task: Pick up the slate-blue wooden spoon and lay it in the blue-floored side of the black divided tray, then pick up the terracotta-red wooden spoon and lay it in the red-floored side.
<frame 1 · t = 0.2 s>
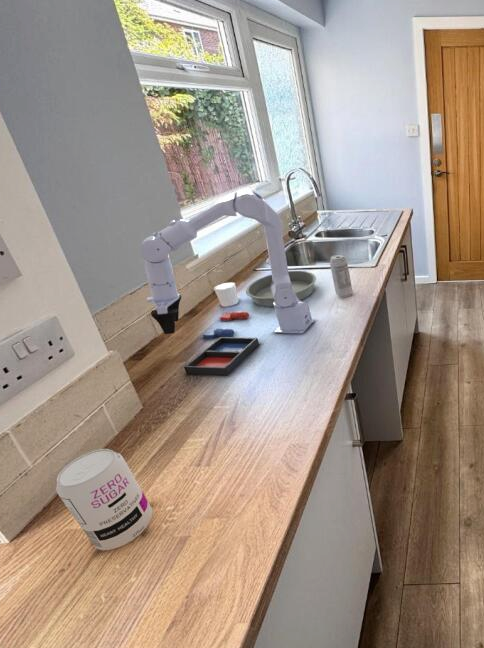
hand: (171, 327, 112), 10 cm above the table, tool pointing down, fingers open, 7 cm apart
white cup: (230, 303, 148), on the table
black divided tray: (225, 358, 115), on the table
grey cylinder: (344, 294, 150), on the table
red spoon: (236, 318, 137), on the table
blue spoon: (220, 335, 127), on the table
supplement can: (126, 529, 69), on the table
cake pan: (284, 294, 153), on the table
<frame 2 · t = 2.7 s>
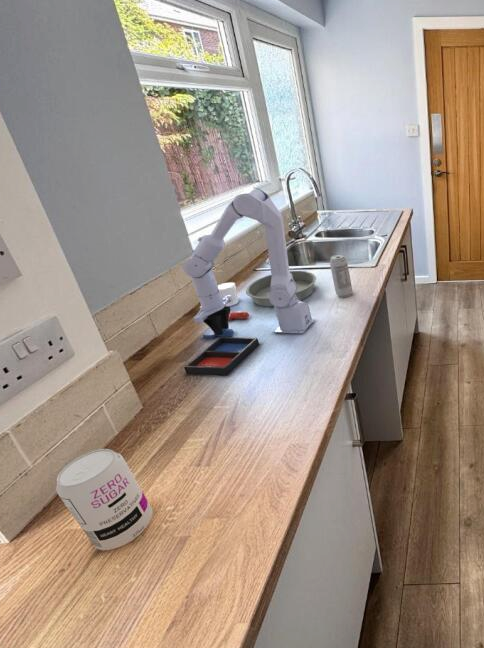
hand: (222, 331, 126), 1 cm above the table, tool pointing down, fingers closed on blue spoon, 2 cm apart
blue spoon: (220, 335, 127), on the table, touching gripper
everything else where it was.
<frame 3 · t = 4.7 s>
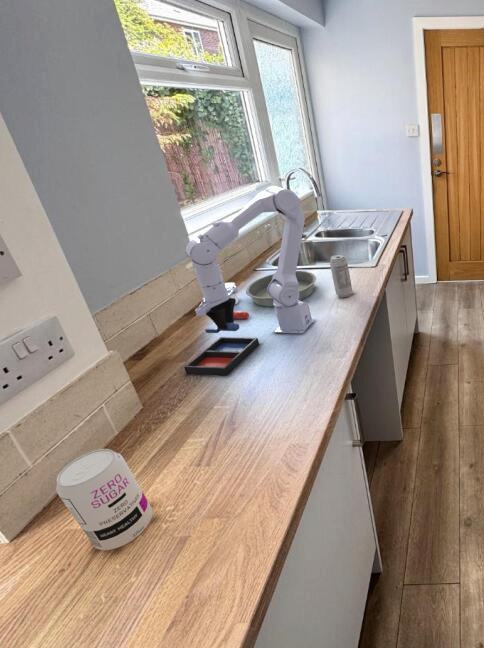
hand: (226, 326, 115), 8 cm above the table, tool pointing down, fingers closed on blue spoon, 2 cm apart
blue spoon: (224, 330, 116), point 7 cm above the table, touching gripper
everything else where it was.
when the fingers open (2 cm above the table, at t = 7.2 s): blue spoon stays where it is, resting on black divided tray.
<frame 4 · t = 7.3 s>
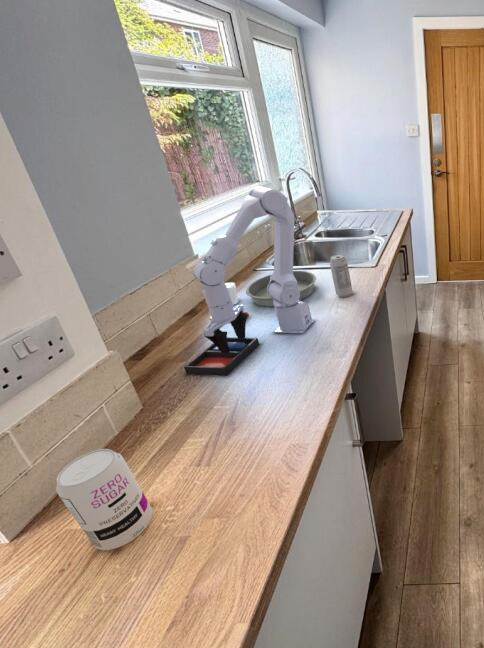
hand: (233, 344, 117), 3 cm above the table, tool pointing down, fingers open, 7 cm apart
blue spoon: (232, 349, 118), point 1 cm above the table, touching black divided tray
everything else where it was.
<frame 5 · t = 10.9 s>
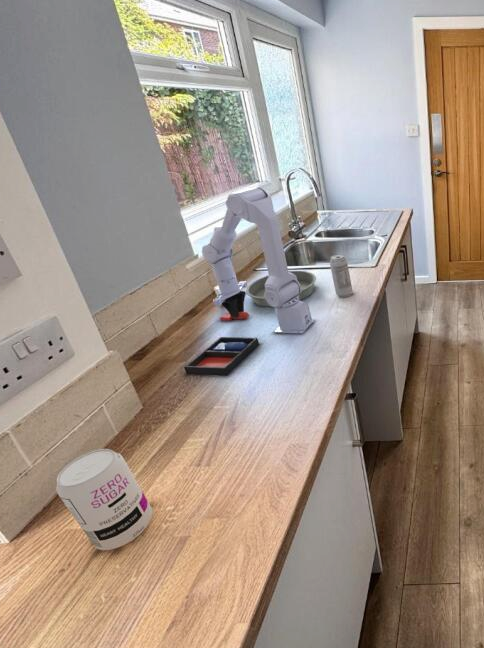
hand: (238, 314, 136), 1 cm above the table, tool pointing down, fingers closed on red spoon, 2 cm apart
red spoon: (236, 318, 137), on the table, touching gripper
everything else where it was.
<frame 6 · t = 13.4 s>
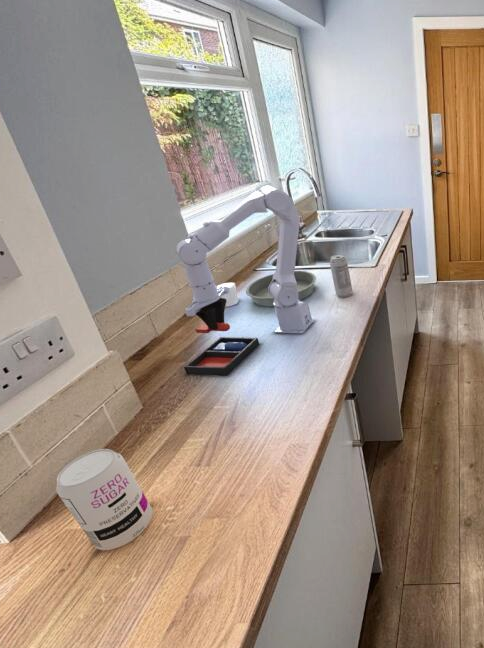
hand: (217, 326, 115), 8 cm above the table, tool pointing down, fingers closed on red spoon, 2 cm apart
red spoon: (215, 330, 116), point 7 cm above the table, touching gripper
everything else where it was.
when the fingers open (2 cm above the table, at t = 16.5 s): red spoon stays where it is, resting on black divided tray.
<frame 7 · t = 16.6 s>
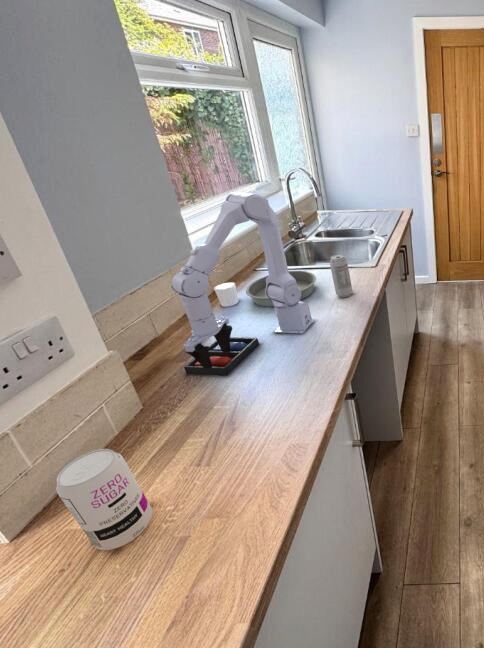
hand: (217, 359, 111), 3 cm above the table, tool pointing down, fingers open, 7 cm apart
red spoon: (215, 364, 111), point 1 cm above the table, touching black divided tray
everything else where it was.
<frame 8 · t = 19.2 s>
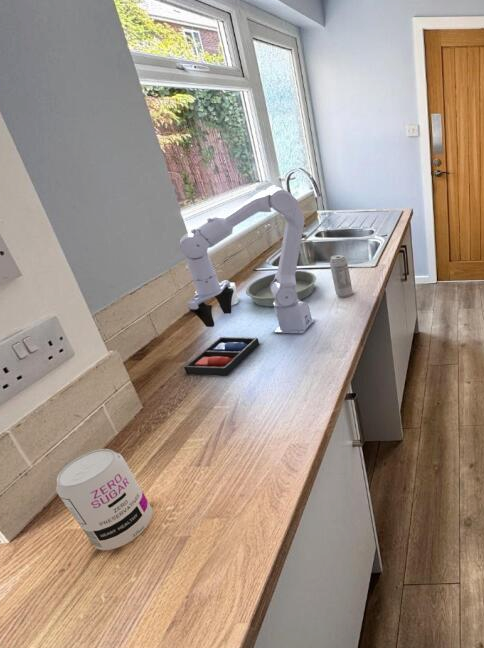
hand: (219, 319, 117), 9 cm above the table, tool pointing down, fingers open, 7 cm apart
nothing on the table moved.
at the end: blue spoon inside the target area on the black divided tray (0.1 cm from its centre), point 0.7 cm above the black divided tray's base; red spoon inside the target area on the black divided tray (0.2 cm from its centre), point 0.7 cm above the black divided tray's base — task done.
